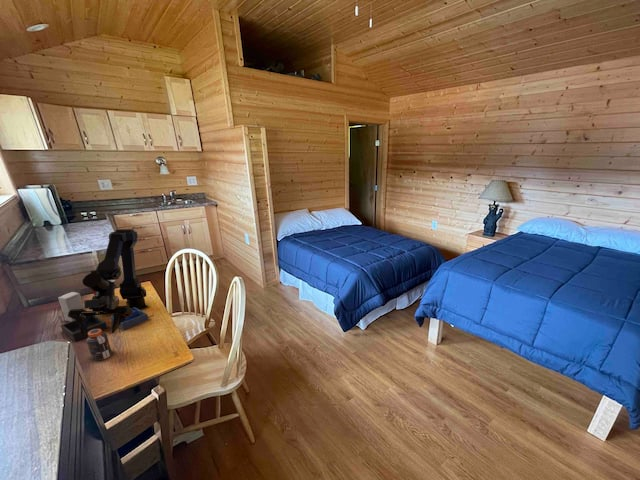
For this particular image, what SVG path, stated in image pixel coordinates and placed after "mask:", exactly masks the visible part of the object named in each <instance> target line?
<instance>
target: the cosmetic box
mask: <svg viewBox="0 0 640 480" xmlns="http://www.w3.org/2000/svg"><path fill="white" fill-rule="evenodd" d="M57 300H58V302H59V306H60V308H61V311H62V315H63V317H64V320H65V321H66V322H72V321H75V320H74V319H72V318H70V317H68V312H69V311H70V310H71V309H84V302H83V300H82V296H81V294H80V292H75V291H71V292H68V293H65V294H63V295H60V296H58V297H57ZM84 310H85V309H84Z"/></svg>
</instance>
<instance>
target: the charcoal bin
mask: <svg viewBox="0 0 640 480" xmlns="http://www.w3.org/2000/svg"><path fill="white" fill-rule="evenodd" d="M87 319H88V320H89V322H88V327H87V331H86V334H85V336H82V334H81V331H80V327H79V324H78V322H77V321H76V320H75V321H72V322H70V321H68V322H66V323H63V324H61V325H60V328H61V330H62V333H63V334H65V335H66V336H67V337H69V338H70V339H71V340H72V341H74V342H77V341H80V340H82V339H86V338H88V337H89V336H88V332H89V331H91V330H94V329H101V330H102V332H103V331H106V330H108V326H107V322H106V321H105V320H103V319H102V318H100V317H98V315H94V316H89V317H88V318H87Z"/></svg>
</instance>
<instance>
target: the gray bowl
mask: <svg viewBox="0 0 640 480" xmlns="http://www.w3.org/2000/svg"><path fill="white" fill-rule="evenodd" d="M113 299H114V300H115V301H114V302H113V304H112V309H115V307H116V306H120V297H119V296H118V295H116V294H115V295H114V297H113ZM104 313H105V312H104ZM112 315H113V314H108V315H102V316H103V317H107V316H112Z"/></svg>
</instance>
